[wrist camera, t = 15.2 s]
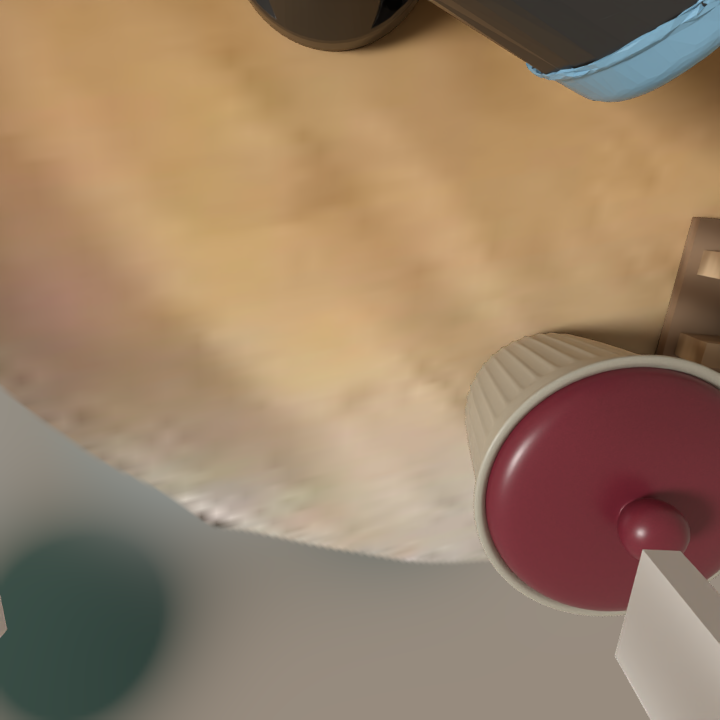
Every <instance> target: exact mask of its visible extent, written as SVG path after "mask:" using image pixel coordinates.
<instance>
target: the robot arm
mask: <svg viewBox="0 0 720 720" xmlns="http://www.w3.org/2000/svg"><path fill="white" fill-rule="evenodd" d="M249 1H250V3H251V4H252V6H253V7H254V8H255V10H256V11H257V12H258V13H259V15H260V16H261V17H262V18H263V19H264V20H265V21H266V22H267V23H268V24H269V25H270V26H271V27H273V28H274V29H275V30H276V31H278V32H279V33H280V34H282V35H283V36H285V37H287V38H288V39H290V40H292V41H294V42H296V43H298V44H301V45H303V46H306V47H310V48H313V49H318V50H325V51H343V50H350V49H355V48H359V47H362V46H365V45H367V44H370V43H372V42H374V41H376V40H378V39H380V38H381V37H383V36H385V35H386V34H388V33H389V32H390V31H392V30H393V29H394V28H395V27H396V26H397V25H399V24H400V23H401V22H402V21H403V20H404V18H405V17H406V16H407V15H408V14H409V13H410V11H411V10H412V9H413V8H414V6H415V5H416V3H417V2H418V0H249ZM429 1H430V2H432V3H433V4H435V5H436V6H438V7H440V8H441V9H443V10H444V11H446V12H447V13H449V14H451V15H452V16H454V17H455V18H457V19H458V20H460V21H462V22H463V23H465V24H466V25H468V26H470V27H471V28H473V29H474V30H476V31H477V32H479V33H481V34H482V35H484V36H485V37H487V38H488V39H490V40H492V41H493V42H495V43H496V44H498V45H499V46H501V47H503V48H504V49H506V50H507V51H509V52H511V53H512V54H514V55H515V56H517V57H518V58H520V59H522V60H523V61H525V62H526V65H527V67H528V69H529V70H530V71H531V72H532V73H533V74H535V75H536V76H538V77H540V78H542V77H543V78H546V79H548V80H555V81H557V82H558V83H560V84H562V85H564V86H565V87H567V88H569V89H571V90H573V91H574V92H576V93H578V94H580V95H581V96H583V97H585V98H587V99H590V100H593V101H603V102H620V101H624V100H628V99H632V98H635V97H638V96H641V95H643V94H646V93H648V92H650V91H653V90H655V89H657V88H659V87H661V86H662V85H664V84H666V83H668V82H670V81H671V80H673V79H674V78H676V77H678V76H679V75H681V74H682V73H684V72H685V71H687V70H688V69H690V68H691V67H693V66H694V65H696V64H697V63H698V62H700V61H701V60H703V59H704V58H706V57H707V56H708V55H710V54H711V53H712V52H713V51H715V50H716V49H717V48H718V47H720V0H429ZM6 630H7V627H6V622H5V617H4V612H3V607H2V602H1V597H0V637H1V636H2V635H3V634H4V632H5V631H6ZM615 657H616V659H617V661H618V663H619V664H620V666H621V668H622V669H623V671H624V673H625V675H626V677H627V679H628V680H629V682H630V684H631V686H632V688H633V689H634V691H635V693H636V695H637V697H638V698H639V700H640V701H641V703H642V705H643V707H644V709H645V711H646V712H647V714H648V716H649V718H650V720H720V594H719V593H718V592H717V591H716V589H715V588H714V587H713V586H712V585H711V584H710V583H709V582H708V581H707V580H706V578H705V577H704V576H703V575H702V574H701V573H700V572H699V571H698V570H697V569H696V568H695V566H694V565H693V564H692V563H691V562H690V561H689V560H688V559H687V558H686V557H685V556H684V554H683V553H682V552H681V551H669V550H647V549H643V550H642V553H641V557H640V561H639V565H638V569H637V573H636V576H635V580H634V584H633V588H632V592H631V596H630V599H629V603H628V607H627V611H626V615H625V619H624V622H623V626H622V630H621V634H620V638H619V642H618V645H617V649H616V653H615Z"/></svg>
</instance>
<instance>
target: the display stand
mask: <svg viewBox="0 0 720 720" xmlns="http://www.w3.org/2000/svg"><path fill="white" fill-rule="evenodd" d="M655 355H664V356H671V357H677V358H681V359H686V360H689V361H692V362H696V363H698V364H701V365H704V366H706V367H708V368H710V369H712V370H714V371H716V372H718V373H720V219H712V218H701V217H693V218H692V222H691V226H690V229H689V233H688V237H687V240H686V244H685V248H684V251H683V255H682V259H681V262H680V266H679V270H678V273H677V277H676V281H675V284H674V288H673V292H672V295H671V299H670V303H669V306H668V310H667V314H666V317H665V321H664V325H663V328H662V332H661V336H660V339H659V343H658V347H657V350H656V354H655Z"/></svg>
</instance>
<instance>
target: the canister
mask: <svg viewBox="0 0 720 720" xmlns="http://www.w3.org/2000/svg"><path fill="white" fill-rule="evenodd" d="M465 415H466V418H465V425H466V432H467V439H468V445H469V450H470V455H471V460H472V466H473V471H474V475H475V480H476V482H475V488H474V499H473V509H474V520H475V525H476V530H477V533H478V537H479V540H480V542H481V545H482V547H483V549H484V551H485V553H486V555H487V557H488V559H489V560H490V562H491V563H492V565H493V566H494V568H495V569H496V570H497V572H498V573H499V574H500V575H501V576H502V577H503V578H504V579H505V580H506V581H507V582H508V583H509V584H510V585H511V586H512V587H514V588H515V589H516V590H518V591H519V592H520V593H522V594H523V595H525V596H527V597H529V598H530V599H532V600H534V601H536V602H538V603H540V604H543V605H545V606H548V607H550V608H553V609H556V610H560V611H563V612H568V613H572V614H578V615H586V616H618V615H626V611H627V607H628V603H629V599H630V596H631V592H632V588H633V584H634V580H635V576H636V573H637V569H638V565H639V561H640V557H641V553H642V550H643V549H647V550H669V551H681V552H682V553H683V554H684V556H685V557H686V558H687V559H688V560H689V561H690V562H691V563H692V564H693V565H694V566H695V568H696V569H697V570H698V571H699V572H700V573H701V574H702V575H703V576H704V577H705V578H706V580H707V581H708V582H710V581H711V580H712V579H714V578H715V577H716V576H718V575H719V574H720V373H718V372H716V371H714V370H712V369H710V368H708V367H706V366H704V365H701V364H698V363H696V362H692V361H689V360H686V359H681V358H677V357H671V356H664V355H639V354H636V353H633V352H630V351H627V350H624V349H621V348H618V347H615V346H612V345H609V344H605V343H602V342H598V341H594V340H591V339H587V338H583V337H578V336H574V335H571V334H557V333H547V334H535V335H534V336H529V337H528V336H525V337H523V338H522V339H520V340H517V341H512V342H511V343H510V344H509V345H507V346H505V347H502V348H501V349H500V350H499V351H498V352H496V353H495V354H493V355H492V356H491V357H490V359H489V360H488V361H487V362H485V363H484V364H483V366H482V368H481V369H480V370H479V372H477V373H476V377H475V379H474V381H473V382H472V383H471V385H470V391H469V393H468V395H467V404H466V407H465Z"/></svg>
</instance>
